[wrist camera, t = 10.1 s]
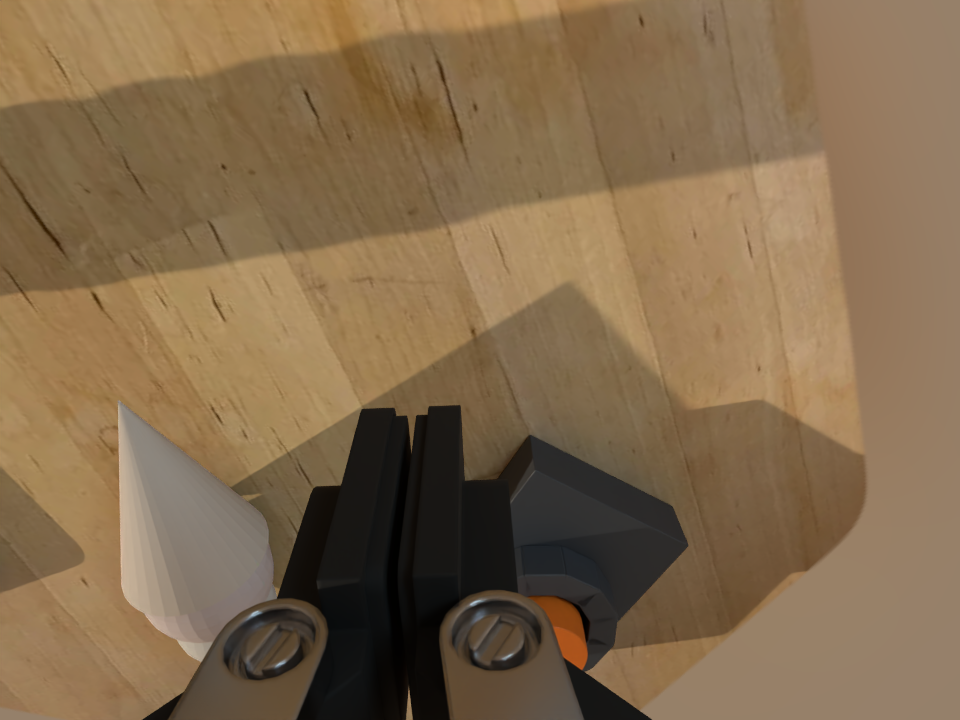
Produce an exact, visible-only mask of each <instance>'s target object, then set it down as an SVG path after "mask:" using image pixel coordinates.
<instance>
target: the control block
mask: <svg viewBox="0 0 960 720" xmlns="http://www.w3.org/2000/svg"><path fill="white" fill-rule="evenodd" d="M498 479H508V485H509V495H510V506H511V517H512V528H513V539H514V550H515V562H516V573H517V584H518V593H519V594H521V595H523V596H525V597H529V596H557V597H560V598H563V599H565V600H567V601H568V602H570V603H571V604H573V605H574V606H575V607H576V609H577V610H578V611H579V613H580V615H581V618H582V624H583V629H584V634H585V640H586V645H587V651H588V658H587V662H586V664H585V666H584V668H583V669H582V671H584V672H585V671H587V670H590V669H592V668H593V667H594V666H595V665H596V664H597V663H598V662H599V661H600V660H601V658H602V657H603V656H604V655H605V654H606V653H607V652H608V651H609V650H610V649H611V648H612V647H613V645H614V642H615V635H616V628H617V622H618V621H619V620H620V619H621V618H622V617H623V616H624V615H625V613H626V612H627V611H628V610H629V609H630V608H631V607H632V606H633V605H634V604H635V603H636V602H637V601H638V600H639V598H640V597H641V596H642V595H643V594H644V593H645V592H646V591H647V590H648V589H649V588H650V587H651V586H652V584H653V583H654V582H655V581H656V580H657V579H658V578H659V577H660V576H661V575H662V574H663V573H664V572H665V571H666V569H667V568H668V567H669V566H670V565H671V564H672V563H673V562H674V561H675V560H676V559H677V558H678V557H679V556H680V554H681V553H682V552H683V551H684V550H685V549H686V548H687V547H688V543H687V540H686V538H685V535H684V533H683V530H682V528H681V526H680V523H679V521H678V518H677V516H676V514H675V511H674V509H673V507H672V506H670V505H669V504H667V503H665V502H663V501H661V500H659V499H657V498H655V497H653V496H651V495H649V494H647V493H645V492H643V491H641V490H639V489H637V488H635V487H633V486H631V485H629V484H627V483H625V482H623V481H621V480H619V479H617V478H615V477H613V476H611V475H609V474H607V473H605V472H603V471H601V470H599V469H597V468H595V467H593V466H591V465H589V464H587V463H585V462H583V461H581V460H579V459H577V458H575V457H573V456H571V455H569V454H567V453H565V452H563V451H561V450H559V449H557V448H555V447H553V446H551V445H549V444H547V443H545V442H543V441H541V440H539V439H537V438H535V437H533V436H531V435H530V436H529V437H528V438H527V440H526V441H525V442H524V444H523V445H522V446H521V448H520V449H519V450H518V452H517V453H516V455H515V456H514V457H513V459H512V460H511V461H510V463H509V464H508V465H507V467H506V468H505V470H504V471H503V472H502V474H501V475H500V476H499V478H498Z"/></svg>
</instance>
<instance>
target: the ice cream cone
mask: <svg viewBox="0 0 960 720" xmlns="http://www.w3.org/2000/svg"><path fill="white" fill-rule="evenodd" d="M118 431H119V487H120V543H121V587H122V590H123V593H124V596H125V598H126V599H127V600H128V602H129V603H130V604H131V605H132V606H133V607H135V608H136V609H137V610H139V611H141V612H143V613H144V614H145V616H146V617H147V618H148V619H149V621H150V622H151V623H152V624H153V625H154V626H155V628H157V629H158V630H159V631H161V632H162V633H164V634H165V635H167V636H169V637H171V638H174V639H176V640H178V643H179V644H180V646H181V647H182V648H183V649H184V651H185V652H186V653H187V654H188V655H190V656H191V657H193V658H194V659H196V660H198V661H200V662H202V660H203V659H204V657H205V655H206V653H207V652H208V650H209V648H210V647H211V645H212V643H213V641H214V640H215V638H216V636H217V635H218V634H219V633H220V631H221V630H222V629H223V627H224V626H225V625H226V624H227V623H228V622H229V621H230V620H231V619H233V618H234V617H235V616H237V615H238V614H239V613H240V612H242V611H244V610H246V609H248V608H250V607H252V606H254V605H256V604H258V603H262V602H266V601H269V600H273V599H277V595H276V591H275V588H274V586H273V584H272V582H273V574H274V561H273V557H272V553H271V549H270V545H269V543H268V542H269V530H268V526H267V522H266V520H265V518H264V517H263V515H262V513H261V512H259V511H258V510H257V509H256V508H255V507H254V506H253V505H251V504H250V503H249V502H247V501H246V500H245V499H244V498H242V497H241V496H240V495H239V494H237V493H236V492H235V491H233V490H232V489H231V488H230V487H228V486H227V485H226V484H225V483H223V482H222V481H221V480H219V479H218V478H217V477H216V476H214V475H213V474H212V473H211V472H209V471H208V470H207V469H205V468H204V467H203V466H202V465H200V464H199V463H198V462H197V461H195V460H194V459H193V458H191V457H190V456H189V455H188V454H186V453H185V452H184V451H183V450H181V449H180V448H179V447H177V446H176V445H175V444H174V443H172V442H171V441H170V440H169V439H167V438H166V437H165V436H164V435H162V434H161V433H160V432H158V431H157V430H156V429H155V428H153V427H152V426H151V425H150V424H148V423H147V422H146V421H144V420H143V419H142V418H141V417H139V416H138V415H137V414H136V413H134V412H133V411H132V410H130V409H129V408H128V407H127V406H125V405H124V404H123V403H122V402H120V401H119V400H118Z"/></svg>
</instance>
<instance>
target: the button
mask: <svg viewBox="0 0 960 720" xmlns="http://www.w3.org/2000/svg"><path fill="white" fill-rule="evenodd" d="M527 598H530V599H532V600H534V601H535V602H536V603H537V604H538V605H539V606H540V607H541V608H542V609H543V610H545V612H546V614H547V616H548V617H549V619H550V621H551V623H552V625H553V628H554V631H555V634H556V637H557V640H558V643H559V646H560V649H561V652H562V655H563V657H564V658H565V659H567V660H568V661H569V662H571V663H572V664H574V665H575V666H577V667H578V668H579V669H581V670H582V669H583V668H584V666H585V664H586V662H587V658H588V651H587V645H586V640H585V634H584V629H583V624H582V618H581V615H580V613H579V611H578V610H577V609H576V607H575V606H574V605H573V604H571V603H570V602H568V601H567V600H565V599H563V598H560V597H557V596H529V597H527Z"/></svg>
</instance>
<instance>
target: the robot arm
mask: <svg viewBox="0 0 960 720" xmlns="http://www.w3.org/2000/svg"><path fill="white" fill-rule="evenodd" d="M408 689H409V690H410V698H411V707H412V715H413V720H652V719H650V718H649V717H648V716H646V715H645V714H643V713H642V712H640V711H639V710H638V709H636V708H635V707H633V706H632V705H631V704H629V703H628V702H626V701H625V700H623V699H622V698H621V697H619V696H618V695H616V694H615V693H613V692H612V691H611V690H609V689H608V688H606V687H605V686H604V685H602V684H601V683H599V682H598V681H596V680H595V679H594V678H592V677H591V676H589V675H588V674H586V673H585V672H584V671H582V670H581V669H579V668H578V667H577V666H575V665H574V664H572V663H571V662H569V661H568V660H567V659H565V658H564V657H563V655H562V652H561V649H560V646H559V643H558V640H557V637H556V634H555V631H554V628H553V625H552V623H551V621H550V619H549V617H548V616H547V614H546V612H545V610H543V609H542V608H541V607H540V606H539V605H538V604H537V603H536V602H535V601H534V600H532V599H530V598H527V597H525V596H523V595H521V594H519V593H518V584H517V573H516V562H515V550H514V539H513V528H512V517H511V506H510V495H509V485H508V479H496V480H471V481H465V476H464V458H463V439H462V421H461V407H460V405H452V406H429V408H428V415H417V416H416V422H415V430H414V438H413V446H412V454H411V445H410V435H409V424H408V418H407V416H396V411H395V408H375V409H362V410H361V413H360V416H359V420H358V424H357V428H356V431H355V435H354V439H353V443H352V447H351V450H350V454H349V458H348V462H347V465H346V469H345V473H344V477H343V481H342V484H341V486H317V487H315V488H314V489H313V491H312V493H311V495H310V498H309V501H308V504H307V507H306V510H305V514H304V517H303V520H302V523H301V526H300V529H299V532H298V535H297V538H296V541H295V544H294V548H293V551H292V554H291V557H290V560H289V563H288V566H287V569H286V572H285V575H284V579H283V582H282V585H281V588H280V591H279V594H278V597H277V599H273V600H269V601H266V602H262V603H258V604H256V605H254V606H252V607H250V608H248V609H246V610H244V611H242V612H240V613H239V614H238V615H237V616H235V617H234V618H233V619H231V620H230V621H229V622H228V623H227V624H226V625H225V626H224V627H223V629H222V630H221V631H220V633H219V634H218V635H217V636H216V638H215V640H214V641H213V643H212V645H211V647H210V648H209V650H208V652H207V653H206V655H205V657H204V659H203V660H202V662H201V664H200V665H199V667H198V669H197V671H196V672H195V674H194V676H193V677H192V679H191V681H190V683H189V684H188V686H187V688H186V689H185V691H184V692H183V693H181V694H180V695H178V696H177V697H175V698H174V699H172V700H171V701H169V702H168V703H166V704H165V705H163V706H162V707H161V708H159V709H158V710H156V711H155V712H153V713H152V714H150V715H149V716H147V717H146V718H144V719H143V720H406V712H407V700H408Z"/></svg>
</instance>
